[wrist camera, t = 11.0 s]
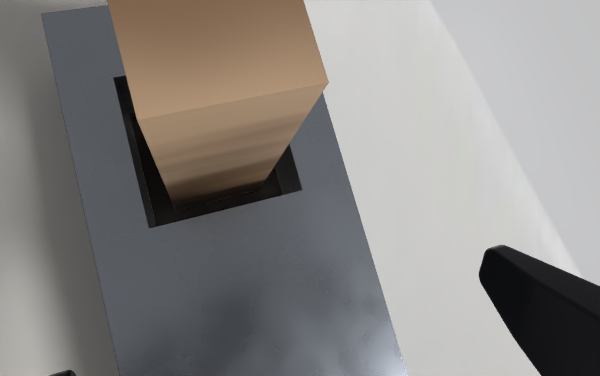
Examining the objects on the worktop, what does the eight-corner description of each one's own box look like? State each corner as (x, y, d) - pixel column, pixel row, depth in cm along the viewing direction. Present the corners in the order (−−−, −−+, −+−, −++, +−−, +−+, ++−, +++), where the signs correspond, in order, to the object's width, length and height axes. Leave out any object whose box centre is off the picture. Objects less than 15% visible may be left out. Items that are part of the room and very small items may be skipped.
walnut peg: (259, 190, 22) (328, 82, 10) (175, 210, 21) (136, 119, 9) (237, 112, 22) (277, -82, 10) (155, 129, 21) (92, -63, 9)
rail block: (402, 466, 21) (447, 510, 17) (183, 563, 18) (177, 640, 14) (275, 30, 23) (289, -18, 20) (70, 62, 21) (41, 13, 17)
